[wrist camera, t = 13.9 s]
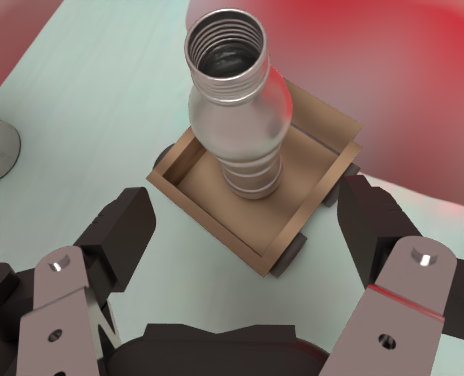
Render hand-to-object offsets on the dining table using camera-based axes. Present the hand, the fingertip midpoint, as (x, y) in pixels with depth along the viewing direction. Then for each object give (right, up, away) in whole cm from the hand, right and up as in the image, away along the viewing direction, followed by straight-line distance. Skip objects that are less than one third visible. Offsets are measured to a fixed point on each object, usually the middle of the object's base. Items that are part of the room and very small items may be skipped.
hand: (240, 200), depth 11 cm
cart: (+4, +3, +21) cm, 22 cm away
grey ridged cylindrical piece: (+2, +2, +20) cm, 20 cm away
